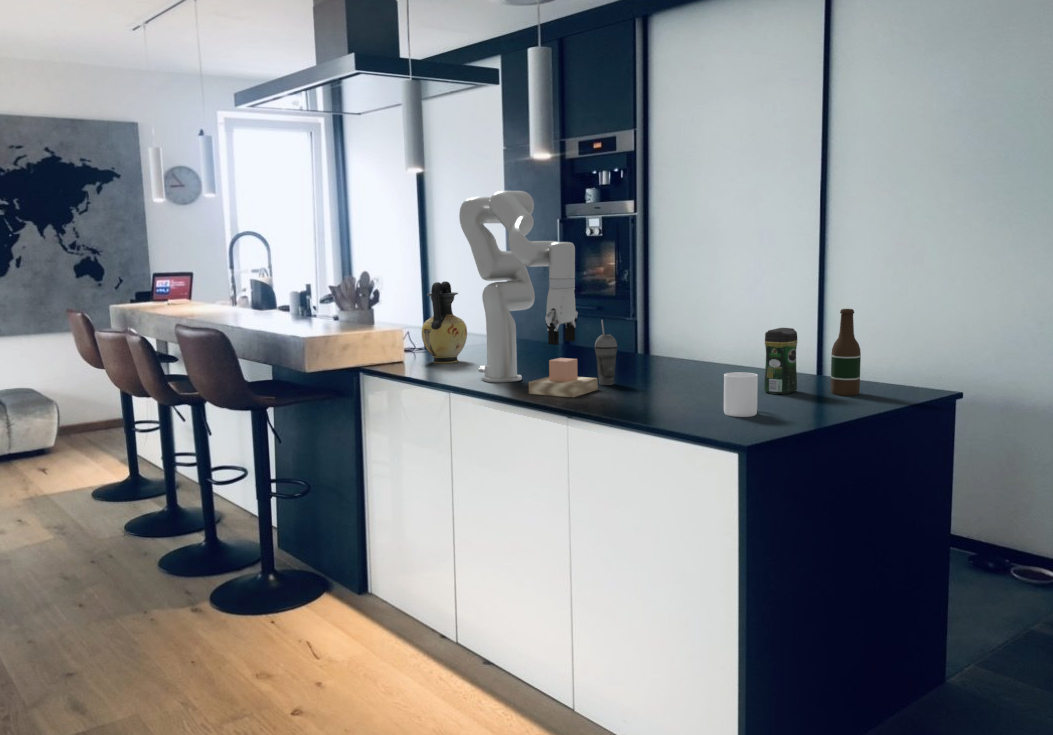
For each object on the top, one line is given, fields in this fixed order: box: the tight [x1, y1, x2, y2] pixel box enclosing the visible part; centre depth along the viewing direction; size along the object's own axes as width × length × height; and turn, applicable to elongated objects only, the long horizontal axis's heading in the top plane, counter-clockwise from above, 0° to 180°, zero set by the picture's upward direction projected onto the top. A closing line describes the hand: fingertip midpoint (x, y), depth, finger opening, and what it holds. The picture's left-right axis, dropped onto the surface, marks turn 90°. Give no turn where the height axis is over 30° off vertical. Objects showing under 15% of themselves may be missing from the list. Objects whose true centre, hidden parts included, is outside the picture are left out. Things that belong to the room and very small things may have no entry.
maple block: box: [528, 376, 599, 398], centre depth 275 cm, size 15×15×4 cm
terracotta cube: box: [548, 357, 579, 382], centre depth 274 cm, size 6×6×6 cm
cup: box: [723, 371, 759, 418], centre depth 236 cm, size 8×12×10 cm
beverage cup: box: [593, 319, 618, 386], centre depth 286 cm, size 7×7×20 cm
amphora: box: [421, 281, 468, 364], centre depth 344 cm, size 18×17×30 cm
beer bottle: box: [830, 308, 862, 397], centre depth 260 cm, size 8×8×24 cm
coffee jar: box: [763, 327, 798, 395], centre depth 265 cm, size 10×8×19 cm
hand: (561, 342), depth 273 cm, fingers open, 9 cm apart
